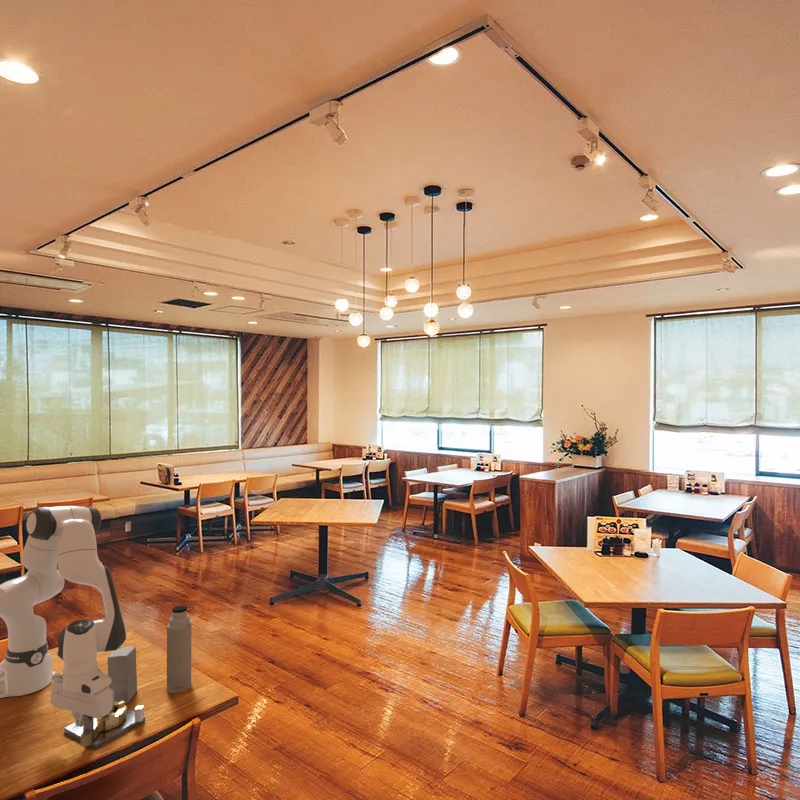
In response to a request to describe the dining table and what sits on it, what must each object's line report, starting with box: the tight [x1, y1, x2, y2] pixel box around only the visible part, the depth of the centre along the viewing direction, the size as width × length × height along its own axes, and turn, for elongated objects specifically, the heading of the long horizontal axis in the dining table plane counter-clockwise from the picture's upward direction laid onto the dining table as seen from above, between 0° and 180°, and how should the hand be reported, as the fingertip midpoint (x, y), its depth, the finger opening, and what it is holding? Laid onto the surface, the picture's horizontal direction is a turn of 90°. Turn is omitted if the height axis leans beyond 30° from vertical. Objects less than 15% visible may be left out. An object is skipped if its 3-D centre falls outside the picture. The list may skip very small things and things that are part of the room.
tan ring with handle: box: [80, 700, 127, 747], centre depth 166 cm, size 18×11×8 cm, turn 3°
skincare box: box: [107, 646, 138, 704], centre depth 186 cm, size 8×7×16 cm
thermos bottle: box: [166, 605, 192, 694], centre depth 193 cm, size 8×8×28 cm
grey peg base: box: [63, 689, 146, 750], centre depth 169 cm, size 18×16×10 cm
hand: (80, 725), depth 161 cm, fingers closed
